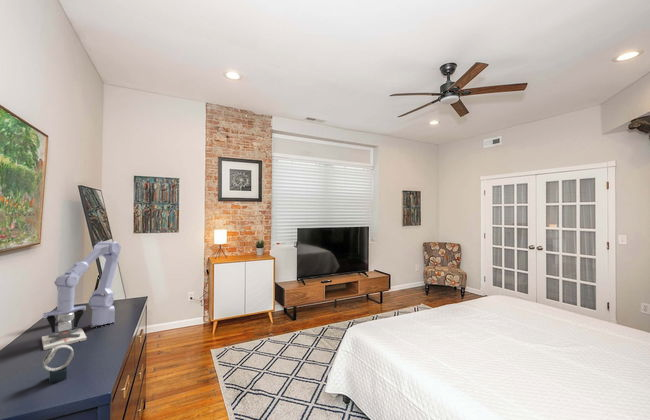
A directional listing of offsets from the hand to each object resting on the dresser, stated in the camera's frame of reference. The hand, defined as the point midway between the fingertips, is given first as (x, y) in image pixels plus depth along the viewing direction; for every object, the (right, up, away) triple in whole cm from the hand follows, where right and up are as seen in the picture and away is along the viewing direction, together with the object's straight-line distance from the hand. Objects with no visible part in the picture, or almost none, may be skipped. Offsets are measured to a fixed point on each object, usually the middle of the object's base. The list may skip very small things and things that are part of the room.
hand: (64, 329), depth 129 cm
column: (0, -3, 0) cm, 3 cm away
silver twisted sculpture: (-20, -5, +21) cm, 30 cm away
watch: (+27, -4, -31) cm, 42 cm away
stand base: (0, -5, 0) cm, 5 cm away
